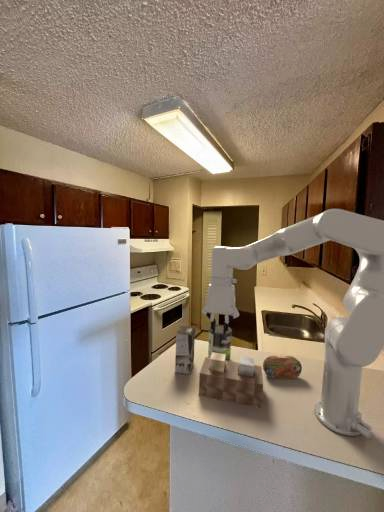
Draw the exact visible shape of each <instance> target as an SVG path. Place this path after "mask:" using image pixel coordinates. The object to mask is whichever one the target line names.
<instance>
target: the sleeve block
mask: <svg viewBox="0 0 384 512" xmlns="http://www.w3.org/2000/svg"><path fill="white" fill-rule="evenodd" d="M238 370H239V361H232V360H230V361H226V360H225V373H222V372H217V371H211V370H210V358H208V356H206V357H204V360H203V362H202V365H201V368H200V371H199V376H198V377H199V378H198V396H201V397H206V398H211V399H217V400H219V401H220V400H222V401H227V402H231V403H234V404H235V403H237V404H241V405H245V406H249V407H255V408H260V409H262V408H263V396H264V378H263V366H262V365H256V364H254V374H253V378H251V377H245V376H239V375H238Z"/></svg>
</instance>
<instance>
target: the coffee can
mask: <svg viewBox="0 0 384 512" xmlns="http://www.w3.org/2000/svg"><path fill="white" fill-rule="evenodd" d="M223 329H224V324H216V328H215V332H214V333H212V329H211V325H210V326H209V328H208V348H207V349H208V350H207V352H208V353H207V357H208V358H211V355H212V352H215V353H221V354H226V361H231V353H232V352H231V350H232V349H231V348H232V336H233V335H232V334H233V333H232V332H233V329H232V328H231V327H229V326H228V331H226V334H223Z"/></svg>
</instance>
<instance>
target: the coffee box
mask: <svg viewBox="0 0 384 512" xmlns="http://www.w3.org/2000/svg"><path fill="white" fill-rule="evenodd" d="M195 332H196V326H188V325H187V326H186V325H181V326H180V327H179V329H178V330H177V332H176V333H175V334H176V335H175V337H176V338H175V358H174V359H175V361H174V363H175V365H174V373H180V374H187V375H190V374H191V371H192V368H193V365H194V363H195V343H196V342H195V339H196V337H195V336H196V333H195Z"/></svg>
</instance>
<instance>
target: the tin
mask: <svg viewBox="0 0 384 512" xmlns="http://www.w3.org/2000/svg"><path fill="white" fill-rule="evenodd" d="M302 368H303V366H302V364H301V362H300V361H299V360H298V358H296V357H294V356H291V355H270V356H267V357H266V358H265V359H264V361H263V363H262V371H264V374H265V375H266V377H267V378H269V379H271V380H294V379H296V378H298V377H299V376H300V375H301V373H302V371H303V369H302Z"/></svg>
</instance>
